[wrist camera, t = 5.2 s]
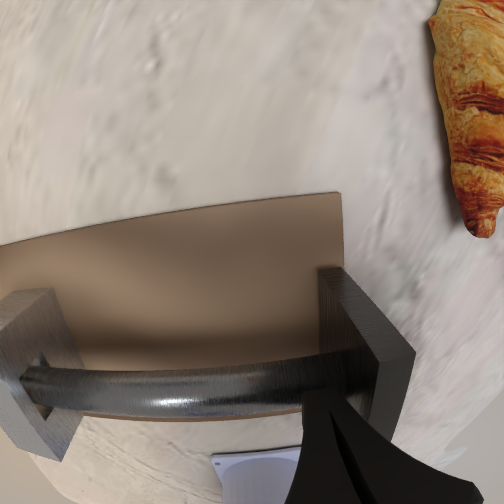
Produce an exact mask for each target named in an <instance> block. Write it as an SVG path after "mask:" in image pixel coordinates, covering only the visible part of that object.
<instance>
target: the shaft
mask: <svg viewBox="0 0 504 504" xmlns="http://www.w3.org/2000/svg"><path fill="white" fill-rule="evenodd" d="M317 274H318V303H319V354H317V355H311V356H305V357H299V358H292V359H286V360H278V361H271V362H263V363H255V364H246V365H236V366H225V367H213V368H199V369H181V370H150V371H116V370H86V369H69V368H56V367H45V366H35V365H29V367H28V368H27V369H26V370H25V371H24V373H23V374H22V375H21V376H20V377H19V379H18V380H19V381H20V383H21V385H22V386H23V388H24V390H25V392H26V393H27V395H28V396H29V398H30V400H31V401H32V403H35V404H39V405H44V406H50V407H55V408H61V409H67V410H73V411H80V412H88V413H97V414H106V415H117V416H131V417H153V418H198V417H221V416H235V415H247V414H257V413H266V412H274V411H281V410H288V409H295V408H301V407H302V394H303V393H304V392H307V391H313V390H318V389H324V388H329V387H334V386H335V387H336V388H338V390H339V391H340V392H341V394H342V395H343V396H344V397H345V399H346V400H347V401H348V402H349V403H350V404H351V406H352V407H353V408H354V409H355V410H356V411H357V412H358V413H359V414H360V415H361V416H362V417H363V418H364V419H365V420H366V421H367V422H368V423H369V424H370V425H371V426H372V427H373V428H374V429H375V430H376V431H377V432H379V433H380V434H381V435H382V436H383V437H385V438H386V439H387V440H388V441H390V442H391V440H392V437H393V434H394V431H395V428H396V425H397V422H398V419H399V416H400V413H401V409H402V406H403V403H404V399H405V396H406V392H407V389H408V385H409V381H410V377H411V373H412V369H413V364H414V360H415V356H416V352H415V350H414V349H413V348H412V347H411V346H410V344H409V343H408V342H407V341H406V340H405V338H404V337H403V336H402V335H401V334H400V333H399V331H398V330H397V329H396V328H395V327H394V326H393V324H392V323H391V322H390V321H389V320H388V319H387V317H386V316H385V315H384V314H383V313H382V312H381V311H380V309H379V308H378V307H377V306H376V305H375V304H374V303H373V302H372V300H371V299H370V298H369V297H368V296H367V295H366V294H365V293H364V291H363V290H362V289H361V288H360V287H359V286H358V285H357V284H356V283H355V282H354V280H353V279H352V278H351V277H350V276H349V275H348V274H347V273H346V272H345V271H344V270H343V268H342V267H341V266H340V267H333V268H326V269H319V270H317Z"/></svg>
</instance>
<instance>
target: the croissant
mask: <svg viewBox="0 0 504 504" xmlns="http://www.w3.org/2000/svg"><path fill="white" fill-rule="evenodd" d="M427 22H428V24H429V27H430V29H431V33H432V37H433V40H434V44H435V47H436V51H435V55H434V61H433V66H434V77H435V85H436V90H437V94H438V99H439V102H440V105H441V108H442V111H443V115H444V123H445V128H446V131H447V135H448V142H449V152H450V157H451V162H452V163H451V177H452V183H453V186H454V190H455V193H456V197H457V201H458V204H459V207H460V210H461V213H462V217H463V221H464V225H465V227H466V229H467V230H468V231H469V232H470V233H471V234H472V235H473V236H475V237H478V238H489V237H491V236H492V234H493V233H494V231H495V226H496V218H497V215H498V211H499V209H500V208H501V207H503V206H504V0H441V2H440V5H439V7H438V10H437V13H436V15H434V16H432V17H430V18H429V19H428V21H427Z"/></svg>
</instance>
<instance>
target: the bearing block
mask: <svg viewBox="0 0 504 504" xmlns="http://www.w3.org/2000/svg"><path fill="white" fill-rule="evenodd" d="M29 365H35V366H45V367H56V368H69V369H86V368H85V366H84V364H83V362H82V360H81V357H80V355H79V353H78V351H77V348H76V346H75V344H74V341H73V339H72V336H71V334H70V332H69V329H68V327H67V324H66V321H65V319H64V316H63V313H62V311H61V308H60V305H59V302H58V299H57V296H56V293H55V290H54V287H46V288H36V289H25V290H15V291H12V292H11V293H9V294H8V295H7V296H5V297H4V298H2V299H1V300H0V426H1V428H2V429H3V430H4V432H5V433H6V434H7V435H8V437H9V438H10V439H11V440H12V442H13V443H14V444H15V445H16V446H17V448H20V449H23V450H25V451H28V452H31V453H34V454H36V455H39V456H42V457H46V458H49V459H52V460H55V461H59V462H62V459H63V457H64V455H65V453H66V451H67V449H68V447H69V445H70V442H71V440H72V438H73V436H74V434H75V432H76V430H77V428H78V426H79V424H80V422H81V420H82V418H83V416H84V414H85V412H80V411H73V410H67V409H61V408H55V407H50V406H44V405H39V404H35V403H32V401H31V400H30V398H29V396H28V395H27V393H26V392H25V390H24V388H23V386H22V385H21V383H20V381H19V380H18V379H19V377H20V376H21V375H22V374H23V373H24V371H25V370H26V369H27V368H28V367H29Z"/></svg>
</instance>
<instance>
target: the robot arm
mask: <svg viewBox="0 0 504 504" xmlns="http://www.w3.org/2000/svg"><path fill="white" fill-rule="evenodd" d="M302 425H303V439H302V445H301V446H300V447H294V448H287V449H280V450H272V451H263V452H253V453H240V454H222V455H213V456H211V463H212V465H213V467H214V469H215V472H216V474H217V476H218V478H219V480H220V482H221V484H222V504H482V503H483V501H484V499H483V497H482V495H481V493H480V491H479V490H478V488H477V487H476V486H475V485H474V483H473V482H470V481H466V480H462V479H459V478H456V477H453V476H451V475H448V474H445V473H443V472H441V471H438V470H436V469H434V468H432V467H430V466H428V465H426V464H424V463H422V462H420V461H418V460H416V459H415V458H413V457H411V456H410V455H408V454H407V453H405V452H403V451H402V450H401V449H399V448H398V447H396V446H395V445H393V444H392V443H391V442H390V441H388V440H387V439H386V438H385V437H383V436H382V435H381V434H380V433H379V432H377V431H376V430H375V429H374V428H373V427H372V426H371V425H370V424H369V423H368V422H367V421H366V420H365V419H364V418H363V417H362V416H361V415H360V414H359V413H358V412H357V411H356V410H355V409H354V408H353V407H352V406H351V404H350V403H349V402H348V401H347V400H346V399H345V397H344V396H343V395H342V394H341V392H340V391H339V390H338V388H336V387H335V386H334V387H329V388H324V389H318V390H313V391H307V392H304V393H303V394H302Z"/></svg>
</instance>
